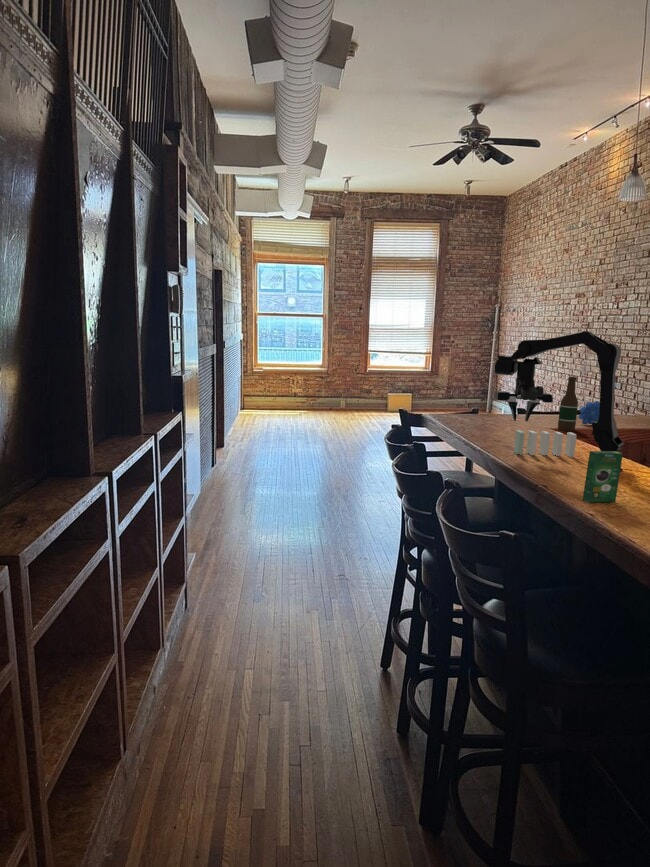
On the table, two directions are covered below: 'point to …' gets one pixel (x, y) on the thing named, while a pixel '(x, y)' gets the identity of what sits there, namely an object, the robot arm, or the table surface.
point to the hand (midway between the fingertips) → (520, 421)
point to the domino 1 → (519, 442)
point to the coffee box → (602, 476)
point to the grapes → (590, 412)
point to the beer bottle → (568, 407)
